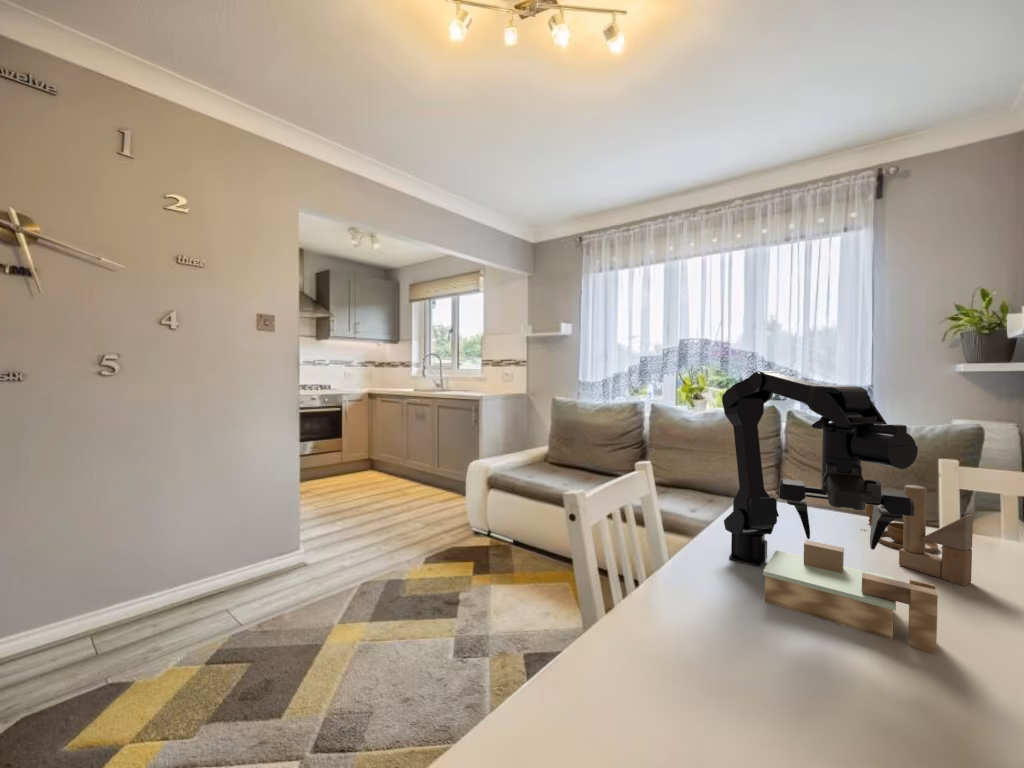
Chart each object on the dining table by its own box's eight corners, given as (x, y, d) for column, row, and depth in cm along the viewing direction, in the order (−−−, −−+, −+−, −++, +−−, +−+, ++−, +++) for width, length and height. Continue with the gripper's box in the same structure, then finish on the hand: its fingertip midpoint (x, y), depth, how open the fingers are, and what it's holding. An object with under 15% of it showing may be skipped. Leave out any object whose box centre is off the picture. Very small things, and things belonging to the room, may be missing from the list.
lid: (763, 575, 81) (763, 549, 81) (775, 554, 91) (776, 531, 91) (895, 610, 69) (896, 580, 69) (894, 582, 79) (895, 555, 79)
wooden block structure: (963, 586, 88) (966, 497, 87) (898, 565, 97) (899, 485, 97) (972, 582, 89) (974, 495, 89) (906, 562, 99) (908, 483, 99)
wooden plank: (861, 592, 73) (861, 577, 73) (862, 586, 75) (862, 572, 75) (936, 611, 67) (937, 595, 67) (935, 605, 69) (935, 589, 69)
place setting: (857, 543, 111) (858, 520, 111) (862, 523, 126) (862, 503, 126) (955, 563, 100) (956, 538, 99) (947, 538, 115) (948, 516, 114)
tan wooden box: (764, 602, 81) (765, 554, 81) (776, 578, 91) (777, 535, 90) (936, 654, 66) (937, 595, 66) (929, 619, 76) (931, 568, 75)
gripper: (781, 459, 75) (779, 548, 76) (926, 471, 66) (923, 573, 66) (779, 449, 85) (777, 528, 85) (905, 459, 75) (903, 548, 76)
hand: (839, 543), depth 78 cm, fingers open, 9 cm apart
